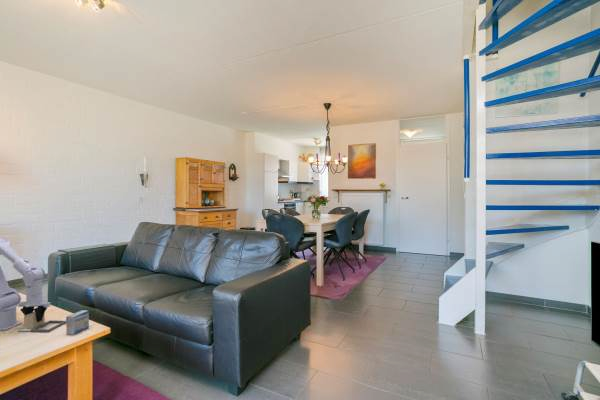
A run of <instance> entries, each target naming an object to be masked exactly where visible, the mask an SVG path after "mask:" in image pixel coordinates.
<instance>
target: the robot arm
mask: <svg viewBox="0 0 600 400" xmlns="http://www.w3.org/2000/svg"><path fill="white" fill-rule="evenodd" d="M1 255H2V256H3V257H5V258H6V260H8V261H10V262H11V263H12V264H13V266H12V268H14V269H15V271H17V272H18V273H19V274H20V275H21V276H22V277H21V278H22V281H23V282H24V285H25V288H26V289H25V291H26V293H25V297H26V300H25V301H21V300H22V297H21V294H19V293H18V291H17V290H16V288H13V287H10V286H9V283H8V280H7V279H6V278H7V277H6V276H5V274H4V272H3V270H2V269H3V268H2V267H1V265H0V331H7V330H10V329H12V328H13V327H15V326H18V325H20V324H22V321H18V320H17V307H18V308H20V312H22V314H23V316H25V315H27V314H30V313H32V312H35V314H36V320H37V322H40V321H42V318H43V315H44V316H45V312H46V310H47V309H48V308H49V307H51V302H50V301H44V300H43V279H44V278H45V276H46V272H45V270H44V268H42V267H38V266H35V265H34V264H33V263H31V261H30V260H29V259H28V258H22V257H21V256H20V254H18V253H17V252H16V251H15V250H14V249H13V248H12V247H11V242H10V241H9V240H8V239H7V238H5V237H0V256H1Z"/></svg>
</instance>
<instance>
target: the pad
mask: <svg viewBox="0 0 600 400" xmlns="http://www.w3.org/2000/svg"><path fill="white" fill-rule="evenodd" d="M46 322H47V321H45V323H46ZM43 324H44V323H43ZM41 325H42V324H41ZM31 329H33V328H24V327H23V328H21V329H19V330H17V332H18V333H32V332H31Z"/></svg>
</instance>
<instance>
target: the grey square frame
mask: <svg viewBox="0 0 600 400" xmlns="http://www.w3.org/2000/svg"><path fill="white" fill-rule="evenodd" d="M45 322H46V323H44V324H42V325H39V326H37V327H35V328H33V329H31V332H30V333H50V332H53V331H54V330H57V329H58V328H60V327H62V326H64V325H65V324H66V320H56V319H55V320H51V319H50V320H48V321H45ZM49 324H57V325H54V326H53V327H51V328H47V329H46V328H45V329H44V327H46V326H48V325H49ZM42 328H43V329H42Z"/></svg>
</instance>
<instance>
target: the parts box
mask: <svg viewBox="0 0 600 400" xmlns="http://www.w3.org/2000/svg"><path fill="white" fill-rule="evenodd" d="M45 317H46V316H45V314H44V315H43V318H42V321H40V322H37V320H36V314H35V311H33V312H32V313H30V314H27V315H23V328H35V327H37V326H39V325H41V324H43V323H45V322H46V320H45V319H46V318H45Z"/></svg>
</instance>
